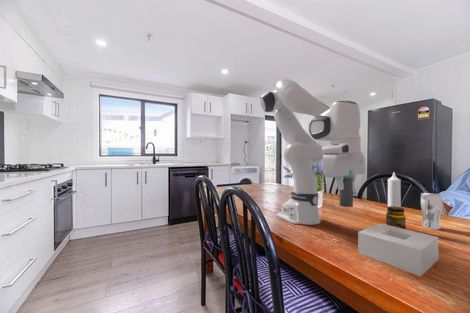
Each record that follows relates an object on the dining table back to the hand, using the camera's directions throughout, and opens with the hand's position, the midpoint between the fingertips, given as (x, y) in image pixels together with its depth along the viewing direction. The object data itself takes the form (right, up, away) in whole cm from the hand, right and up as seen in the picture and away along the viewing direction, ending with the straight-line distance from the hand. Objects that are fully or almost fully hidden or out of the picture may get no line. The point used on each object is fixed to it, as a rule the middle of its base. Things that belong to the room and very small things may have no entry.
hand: (345, 188), depth 69 cm
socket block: (+15, -21, -4) cm, 26 cm away
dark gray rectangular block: (0, -6, 0) cm, 6 cm away
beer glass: (+50, -21, +22) cm, 59 cm away
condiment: (+25, -21, +12) cm, 35 cm away
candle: (+34, -21, +22) cm, 46 cm away
